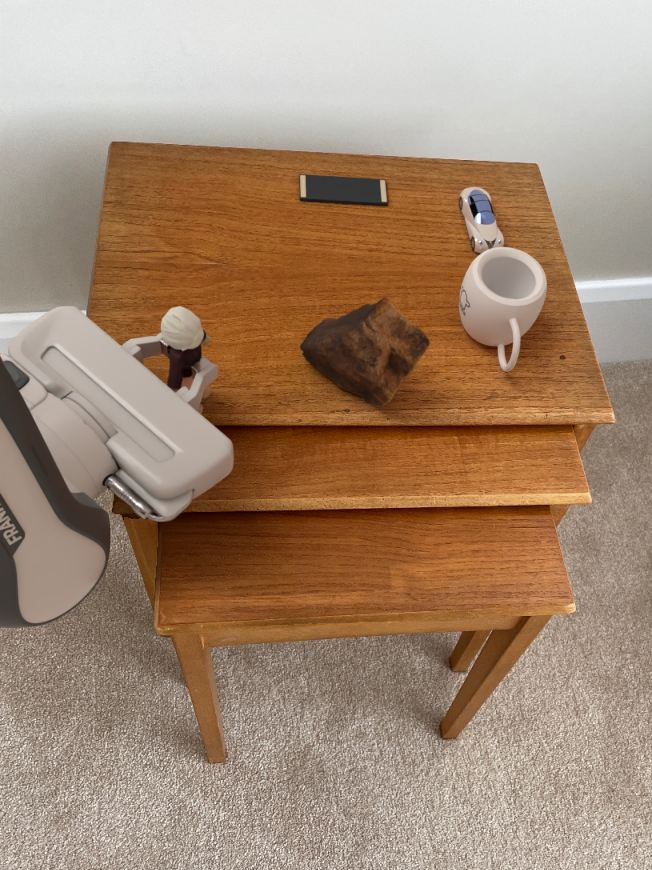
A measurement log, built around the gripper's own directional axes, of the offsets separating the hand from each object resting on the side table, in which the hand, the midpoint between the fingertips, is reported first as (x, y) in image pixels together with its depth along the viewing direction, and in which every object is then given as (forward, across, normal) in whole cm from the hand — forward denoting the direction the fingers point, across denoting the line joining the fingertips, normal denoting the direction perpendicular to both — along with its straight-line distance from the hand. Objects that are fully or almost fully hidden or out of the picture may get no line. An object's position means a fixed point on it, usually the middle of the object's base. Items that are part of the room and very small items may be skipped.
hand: (194, 350), depth 67 cm
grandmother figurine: (-1, 0, +7) cm, 7 cm away
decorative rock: (+13, -8, +8) cm, 18 cm away
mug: (+27, -15, +8) cm, 32 cm away
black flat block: (+31, +10, +8) cm, 34 cm away
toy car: (+38, -6, +8) cm, 40 cm away
